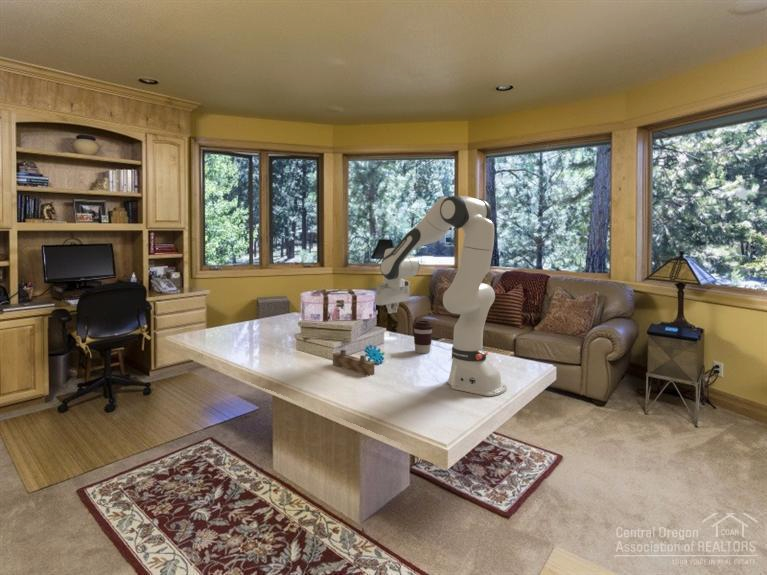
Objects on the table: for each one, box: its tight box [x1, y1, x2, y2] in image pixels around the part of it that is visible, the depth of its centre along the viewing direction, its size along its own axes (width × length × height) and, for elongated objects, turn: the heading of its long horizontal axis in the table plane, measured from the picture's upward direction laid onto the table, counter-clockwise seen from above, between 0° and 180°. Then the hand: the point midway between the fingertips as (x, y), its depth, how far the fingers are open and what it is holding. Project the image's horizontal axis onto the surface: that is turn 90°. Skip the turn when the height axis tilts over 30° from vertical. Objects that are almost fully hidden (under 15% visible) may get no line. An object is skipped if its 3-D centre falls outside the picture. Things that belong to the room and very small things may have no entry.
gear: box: [364, 344, 386, 365], centre depth 200 cm, size 11×6×10 cm
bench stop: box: [332, 349, 375, 377], centre depth 189 cm, size 22×3×7 cm, turn 48°
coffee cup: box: [412, 320, 434, 355], centre depth 218 cm, size 10×10×15 cm
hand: (392, 312), depth 205 cm, fingers closed
